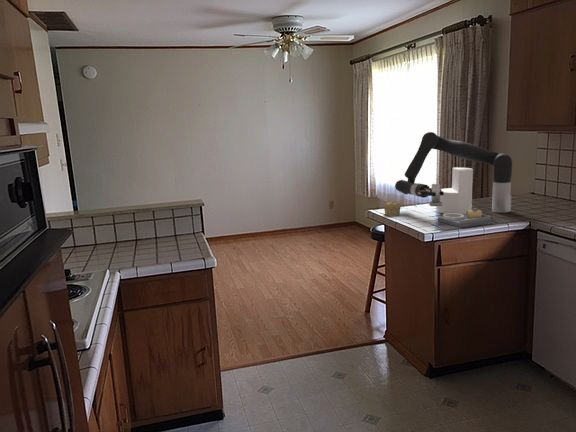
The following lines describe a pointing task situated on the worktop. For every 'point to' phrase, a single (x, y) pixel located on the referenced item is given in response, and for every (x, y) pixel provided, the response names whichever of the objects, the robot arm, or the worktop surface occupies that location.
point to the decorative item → (392, 208)
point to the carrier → (466, 218)
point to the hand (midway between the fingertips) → (439, 194)
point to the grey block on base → (436, 198)
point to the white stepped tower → (458, 192)
